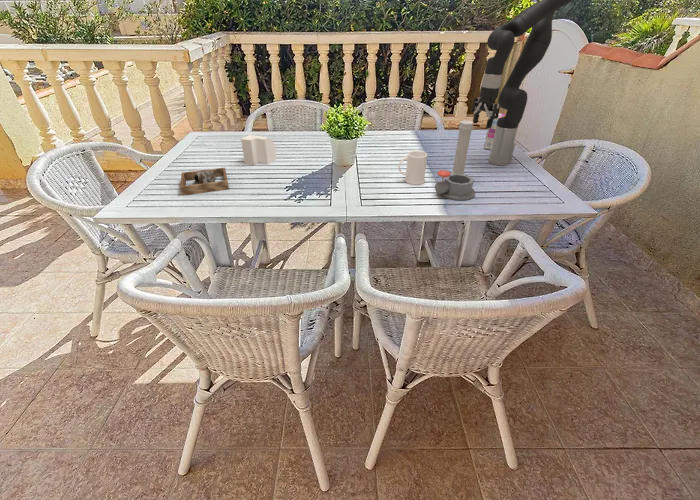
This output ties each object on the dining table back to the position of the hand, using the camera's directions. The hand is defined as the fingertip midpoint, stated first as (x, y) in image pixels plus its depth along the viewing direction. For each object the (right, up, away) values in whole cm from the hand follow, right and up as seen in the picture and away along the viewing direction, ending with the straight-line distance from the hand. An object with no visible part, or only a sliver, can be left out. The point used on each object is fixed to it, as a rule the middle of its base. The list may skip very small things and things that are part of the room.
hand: (481, 125), depth 162 cm
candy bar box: (+17, 0, +34) cm, 38 cm away
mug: (-32, -25, -3) cm, 40 cm away
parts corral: (-119, -27, -6) cm, 122 cm away
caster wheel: (-120, -27, -5) cm, 123 cm away
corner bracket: (-101, -12, +17) cm, 103 cm away
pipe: (-11, -24, -1) cm, 26 cm away
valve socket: (-16, -32, -13) cm, 38 cm away
